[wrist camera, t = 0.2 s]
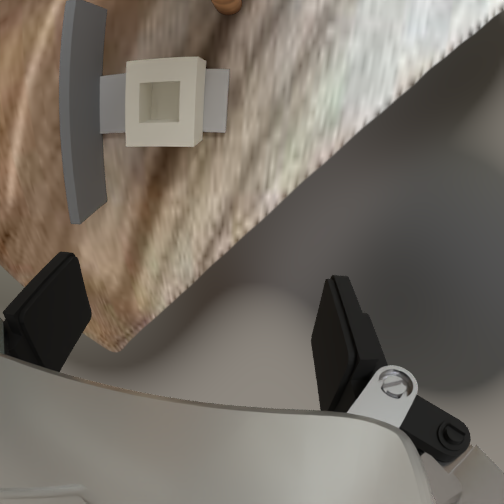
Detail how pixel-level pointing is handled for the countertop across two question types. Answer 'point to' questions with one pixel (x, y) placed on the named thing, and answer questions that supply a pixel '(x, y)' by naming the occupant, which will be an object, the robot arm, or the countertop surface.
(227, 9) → the dowel
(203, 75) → the socket block
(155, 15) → the countertop surface
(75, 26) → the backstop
